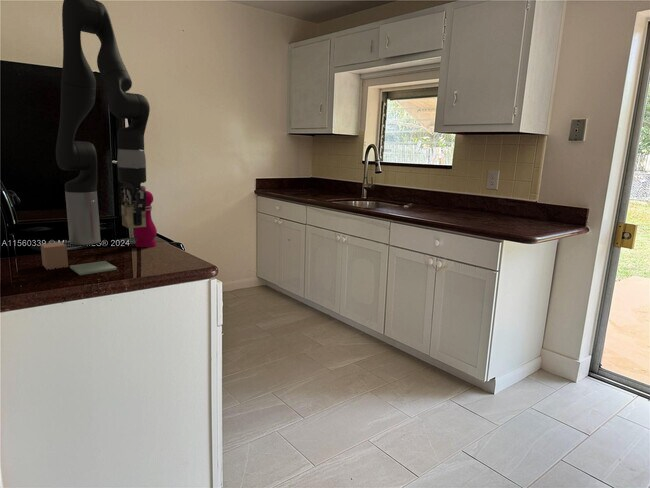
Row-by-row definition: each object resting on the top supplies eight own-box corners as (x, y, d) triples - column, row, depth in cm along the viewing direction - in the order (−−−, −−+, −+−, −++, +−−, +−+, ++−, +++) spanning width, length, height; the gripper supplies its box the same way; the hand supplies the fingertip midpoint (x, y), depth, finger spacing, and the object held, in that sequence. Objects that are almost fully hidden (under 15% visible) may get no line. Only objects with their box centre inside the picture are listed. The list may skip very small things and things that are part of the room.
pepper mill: (161, 244, 151) (158, 185, 147) (151, 248, 144) (148, 186, 140) (140, 243, 152) (137, 184, 148) (129, 247, 145) (126, 186, 141)
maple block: (122, 225, 132) (121, 205, 131) (139, 223, 135) (138, 204, 134) (128, 228, 128) (127, 207, 127) (146, 226, 132) (145, 206, 131)
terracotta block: (42, 265, 121) (40, 244, 120) (63, 263, 124) (61, 242, 123) (47, 269, 117) (44, 247, 116) (68, 266, 121) (66, 245, 119)
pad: (69, 267, 120) (69, 265, 120) (105, 262, 126) (105, 260, 126) (79, 275, 113) (79, 273, 113) (116, 269, 119) (116, 267, 119)
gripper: (109, 163, 130) (112, 220, 134) (127, 167, 120) (130, 229, 124) (135, 163, 136) (137, 218, 139) (155, 167, 125) (156, 226, 129)
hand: (134, 223), depth 132 cm, fingers closed on maple block, 5 cm apart
